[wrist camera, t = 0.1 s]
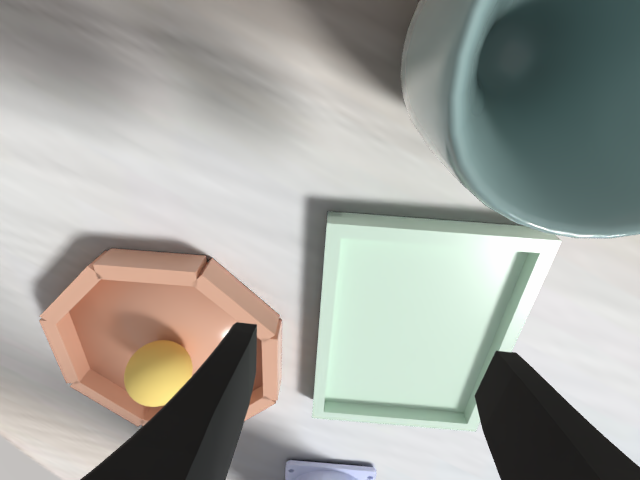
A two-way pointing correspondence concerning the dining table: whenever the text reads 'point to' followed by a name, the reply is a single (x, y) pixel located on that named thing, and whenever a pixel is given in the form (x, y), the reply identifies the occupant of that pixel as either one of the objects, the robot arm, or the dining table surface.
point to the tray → (420, 315)
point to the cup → (533, 107)
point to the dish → (154, 323)
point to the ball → (157, 372)
